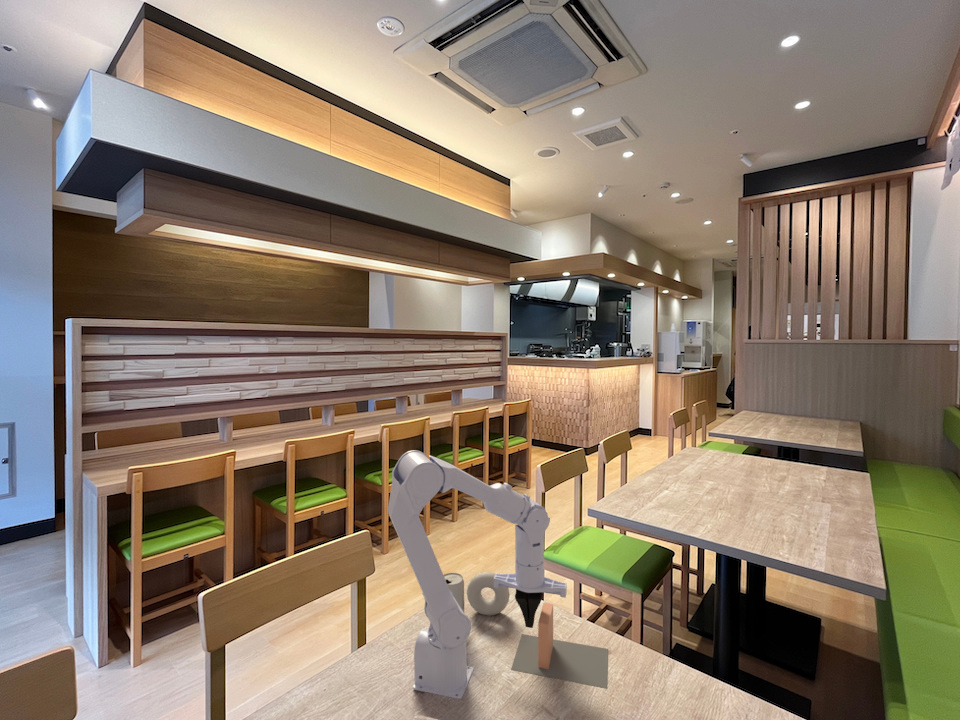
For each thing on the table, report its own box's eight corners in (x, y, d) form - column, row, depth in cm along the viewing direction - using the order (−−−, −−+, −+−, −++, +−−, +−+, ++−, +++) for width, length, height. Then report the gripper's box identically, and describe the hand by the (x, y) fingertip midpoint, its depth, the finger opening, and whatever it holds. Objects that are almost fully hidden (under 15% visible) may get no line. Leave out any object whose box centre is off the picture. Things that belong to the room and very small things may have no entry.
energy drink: (435, 630, 103) (434, 578, 103) (454, 620, 107) (453, 569, 106) (450, 642, 100) (449, 588, 99) (469, 631, 103) (469, 578, 102)
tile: (538, 667, 92) (538, 622, 91) (543, 644, 98) (543, 602, 98) (548, 669, 91) (548, 624, 90) (553, 645, 98) (553, 604, 97)
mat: (511, 671, 91) (511, 669, 91) (521, 635, 102) (521, 633, 102) (607, 690, 86) (607, 688, 86) (608, 650, 97) (608, 648, 97)
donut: (510, 611, 110) (510, 570, 110) (509, 620, 107) (508, 578, 106) (468, 608, 112) (467, 567, 111) (465, 617, 108) (465, 575, 108)
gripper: (568, 554, 96) (568, 618, 97) (499, 546, 100) (499, 607, 101) (564, 571, 89) (564, 640, 90) (490, 562, 93) (491, 627, 94)
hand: (529, 624), depth 95 cm, fingers closed
